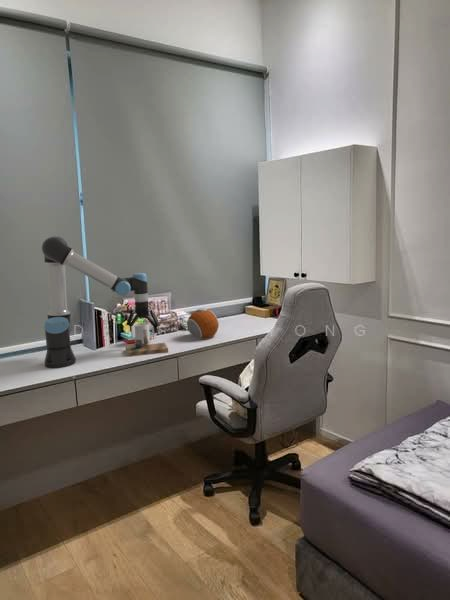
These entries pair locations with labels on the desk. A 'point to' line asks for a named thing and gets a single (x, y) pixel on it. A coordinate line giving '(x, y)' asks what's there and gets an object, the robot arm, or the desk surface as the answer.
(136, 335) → the mug
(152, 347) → the wooden board
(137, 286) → the robot arm
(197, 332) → the orange ball
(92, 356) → the desk surface
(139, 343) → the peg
